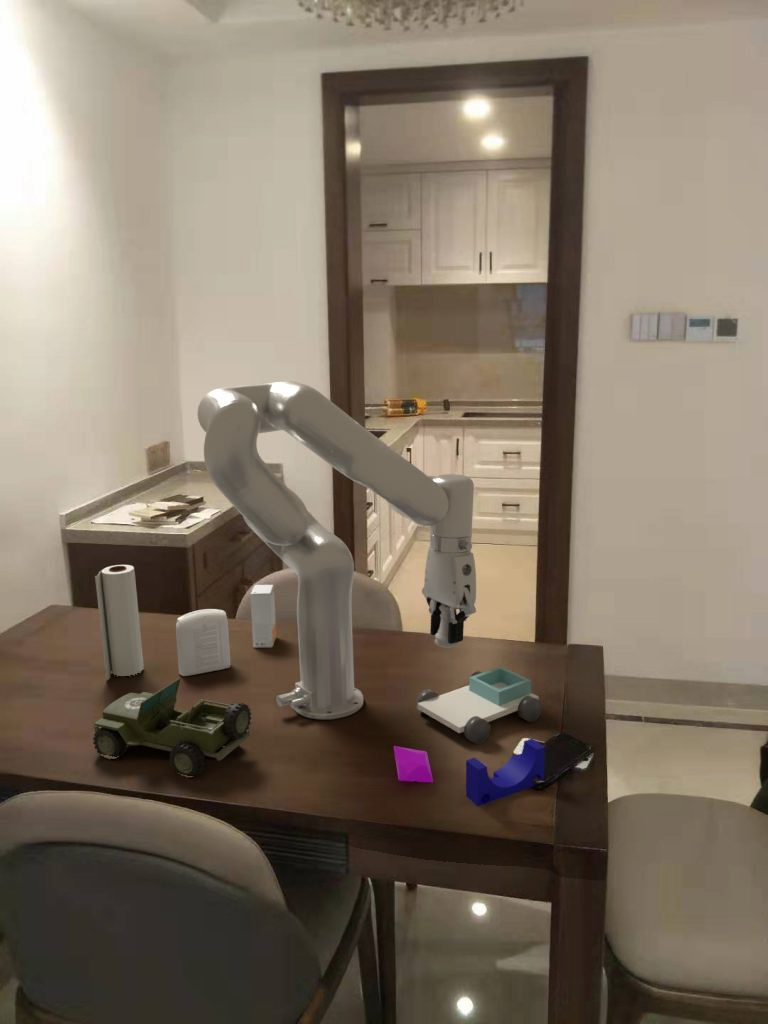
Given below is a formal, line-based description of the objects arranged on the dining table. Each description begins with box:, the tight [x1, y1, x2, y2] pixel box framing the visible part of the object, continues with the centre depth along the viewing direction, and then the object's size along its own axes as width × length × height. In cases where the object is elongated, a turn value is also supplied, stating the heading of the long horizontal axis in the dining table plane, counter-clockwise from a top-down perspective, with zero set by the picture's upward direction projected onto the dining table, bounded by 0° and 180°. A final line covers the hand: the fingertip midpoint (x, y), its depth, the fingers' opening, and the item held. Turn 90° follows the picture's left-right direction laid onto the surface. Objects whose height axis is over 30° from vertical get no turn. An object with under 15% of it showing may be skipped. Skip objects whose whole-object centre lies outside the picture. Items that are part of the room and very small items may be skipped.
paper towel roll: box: [94, 564, 145, 680], centre depth 170 cm, size 7×6×21 cm
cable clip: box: [465, 738, 546, 807], centre depth 129 cm, size 12×4×6 cm, turn 120°
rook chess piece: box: [434, 603, 459, 649], centre depth 163 cm, size 4×4×8 cm
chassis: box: [415, 666, 543, 745], centre depth 151 cm, size 18×15×6 cm
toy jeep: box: [92, 676, 252, 778], centre depth 140 cm, size 12×25×11 cm, turn 66°
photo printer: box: [175, 608, 231, 677], centre depth 171 cm, size 10×4×12 cm, turn 116°
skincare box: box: [249, 584, 277, 649], centre depth 184 cm, size 6×4×12 cm
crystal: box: [393, 745, 434, 783], centre depth 132 cm, size 5×5×5 cm
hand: (446, 636), depth 163 cm, fingers closed on rook chess piece, 4 cm apart
